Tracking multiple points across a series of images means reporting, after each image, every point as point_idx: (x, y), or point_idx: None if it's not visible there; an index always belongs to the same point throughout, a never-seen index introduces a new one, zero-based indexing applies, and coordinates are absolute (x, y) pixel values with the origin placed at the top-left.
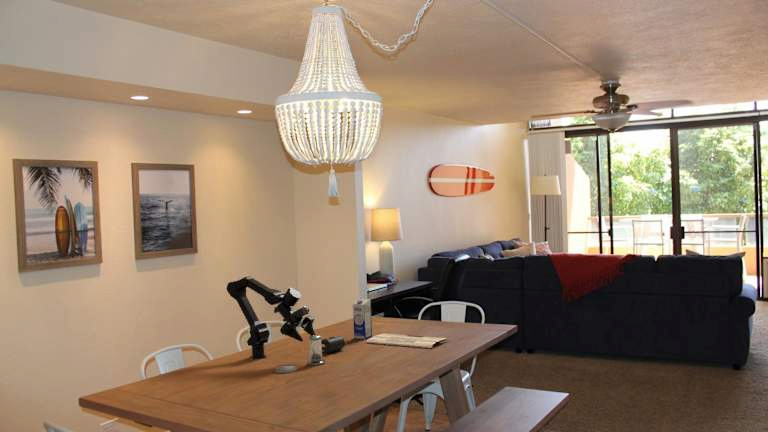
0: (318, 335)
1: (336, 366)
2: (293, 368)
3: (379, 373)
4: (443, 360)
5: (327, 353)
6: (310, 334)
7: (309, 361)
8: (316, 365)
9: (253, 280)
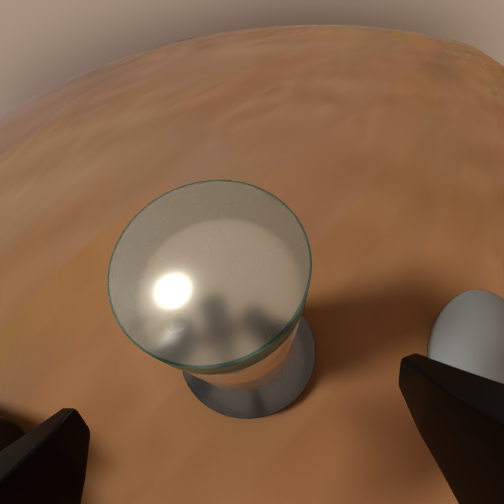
0: (121, 269)
1: None
2: (460, 311)
3: (238, 68)
4: (75, 81)
5: None
6: (73, 501)
7: (271, 400)
8: None
9: None
